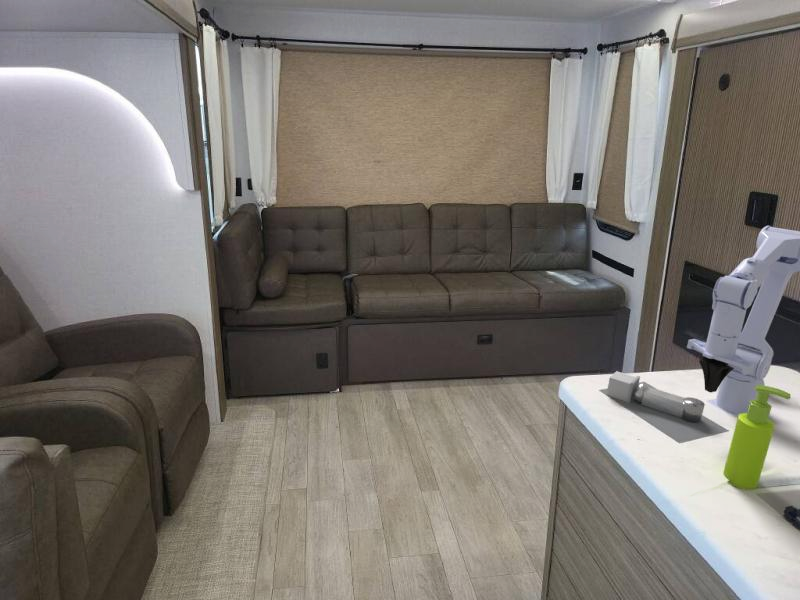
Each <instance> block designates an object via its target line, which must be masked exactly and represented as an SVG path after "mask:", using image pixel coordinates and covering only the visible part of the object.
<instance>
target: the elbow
mask: <svg viewBox="0 0 800 600" xmlns="http://www.w3.org/2000/svg"><path fill="white" fill-rule="evenodd" d="M647 384H648V383H647ZM647 384H644V383H640V382H639V385H638V387H637V390H636V393H635V401H638V402H641V405H644V406H647V407H650V408H653V409H656V410H659V411H662V412H665V413H668V414H671V415H674V416H677V417H680V418H682V419H684V420H686V421H689V422H700V421H701V418H702V415H703V413H704V410H705V409H704V408H705V402H704V401H702V400H701V399H698V398H696V397H687V396H686V397H684V396H683V397H682V396H680V395H676V394H673V393H670V392H667V391H664V390H661V389H658V388H656V389H654V388H655V387H654V388H651V387H648V385H647ZM657 389H658V390H657Z"/></svg>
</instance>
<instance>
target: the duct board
mask: <svg viewBox="0 0 800 600" xmlns="http://www.w3.org/2000/svg"><path fill="white" fill-rule="evenodd" d="M640 379H641V376H639V375H637V376H634V375H631V374H626V373H624V372H620V371H618V370H616V371H615V372H614V373H613V374H611V376H610V377H609V380H608V384H607V388H603V389H599V390H598V391H599V392H600V393H602V394H604V395H605V396H606V397H608V398H609V399H611V400H613V401H614V402H616V403H617V404H618V405H620V406H622V407H624V408H625V409H626V410H627V411H629V412H631V413H633V414H634V415H636V416H637V417H638V418H640V419H641V420H643V421H645V422H646V423H648V424H649V425H651V426H653V427H654V428H655V429H657V430H658V431H660V432H661V433H663V434H665V436H668V437H669V438H671V439H672V440H674V441H675V442H676V443H678V444H681V443H686V442H690V441H695V440H699V439H702V438H707V437H710V436H715V435H718V434H723V433H727V432H729V431H730V430H729V429H727V428H725V427H724V426H722V425H721V424H719V423H716V422H714V421H713V420H712V419H709V418H708V417H706V416H704V415H703V414H702V418H701V421H700V422H689V421H686V420H684V419H682V418H680V417H677V416H674V415H671V414H668V413H665V412H662V411H659V410H656V409H653V408H650V407H647V406H644V405H641V402H638V401H635V393H636V390H637V387H638V385H639V383H644V384H647V385H648V387H651V388H654V389H657V390H659V389H658V388H656V387H654V386H652V385H651V384H649V383H647V382H646V381H640Z"/></svg>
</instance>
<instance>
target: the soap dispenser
mask: <svg viewBox="0 0 800 600" xmlns="http://www.w3.org/2000/svg"><path fill="white" fill-rule="evenodd" d="M756 391H758V395H757V399H756V400H751V401H750V404H749V408H748V412H747V413H741V414H739V415H737V419H736V423H735V426H734V431H733V434H732V438H731V442H730V447H729V450H728V453H727V456H726V457H727V458H726V462H725V465H724V469H723V476H724V477H725V478H726V479H727V483H728V484H730V485H732V486H734V487H736V488H738V489H742V490H749V491H750V490H751V491H752V490H755V489H757V488H758V485H759V482H760V479H761V476H762V475H761V474H762V472H763V469H764V465H765V461H766V457H767V454H768V451H769V447H770V444H771V441H772V438H773V433H774V429H775V423H774V422H773V421H772V420H770V419H769V417H770V414H771V410H772V406H771V404H770V403H769V402H768V400H769V396H770V395H774V396H778V397H781V398H783V399H785V400H789V399H791V393H790V392H787V391H785V390H782V389H779V388H777V387H772V386H767V385H765V386H763V385H756Z"/></svg>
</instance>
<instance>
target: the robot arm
mask: <svg viewBox="0 0 800 600" xmlns="http://www.w3.org/2000/svg"><path fill="white" fill-rule="evenodd" d="M756 238H757V239H756V245H755V246H756V252H754V254H753V256H752V257H748V258H745V259H743V260H741V262H740V263H739V264H738V265H737V266H736V267H735V269H734V270H733V271H732V272H731V273H730V274H729V275H724V276H720V277H719V278H718V279H717V280H716V282H715V285H714V287H713V290H712V304H711V305H712V306H711V309H712V310H713V313H712V316H711V322H710V326H709V330H708V334H707V338H706V342H705V341H703V340H702V341H701V340H700V339H696V338H692V339H688V341H687V345H686V349H689V350H694V351H696V352H698V353H700V354H702V356H703V357H700V358H699V360H698V362H699V364H700V367H701V369H702V373H703V379H704V380H703V381H704V391H706V392H708V393H714V392H715V393H716V392H717V395H716V398H712V399H709V400H707V401H706V402H707V403H709V404H711V405H713V406H715V408H718V409H720V410H722V411H723V412H725V413H727V414H729V415H731V416H733V417H737V418H738V415H739V414H741V413H747V412H748V408H749V404H750V401H751V400H756V399H757V395H758V391H756V385H763V386H766V385H765V380H764V379H765V378H766V377H767V375H768V373H769V371H770V368H771V365H772V361H773V357H774V350H773V348H772V346H771V345H770V344H769V343H768V342H767V340H766V337H767V334H768V332H769V330H770V327H771V324H772V322H773V319H774V318H775V317H774V316H775V315H776V313H777V310H778V307H779V305H780V302H781V300H782V297H783V295H784V293H785V290H786V288H787V285H788V283H789V282H790V280H791V277H792V276H793V274H794V273H797V272H800V231H799V230H793V229H792V230H791V229H786V228H779V227H773V226H771V225H766V226H764V227H763V228H762V229H761V230H760V232H759V234H758V236H757V237H756ZM758 289H759V290H758ZM755 297H756V298H755ZM752 304H753V305H752ZM751 305H752V307H751ZM750 307H751V310H750V312H749V315H748V317H747V320H746V322H745V318H746V313H747V309H748V308H750ZM744 322H745V324H744ZM743 325H744V327H743ZM739 345H740V346H744V347H747V348H751V349H754V350H757V351H760V352H762V353H759V352H756V351H753V350H750V349H746V348H743V347H740V346H739Z"/></svg>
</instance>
